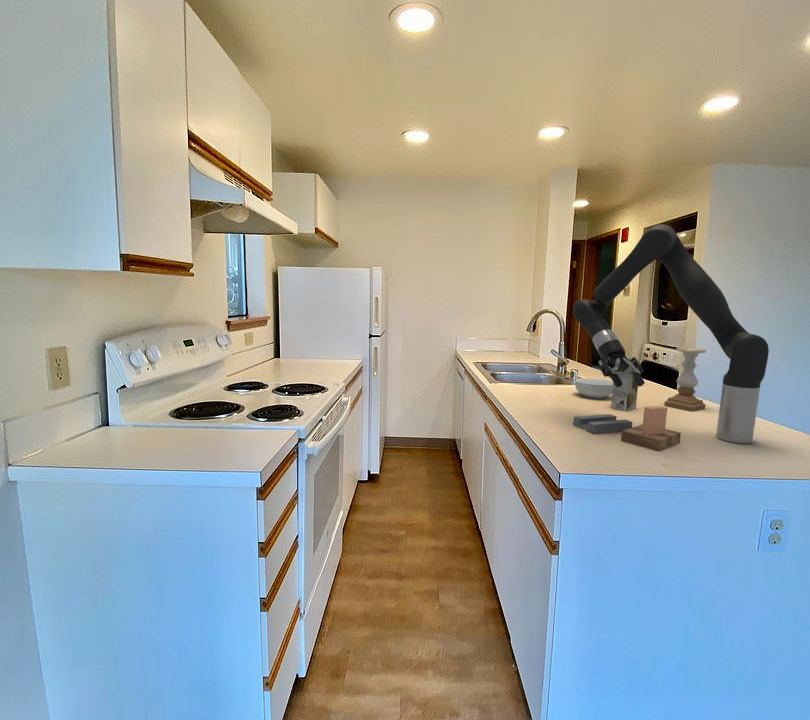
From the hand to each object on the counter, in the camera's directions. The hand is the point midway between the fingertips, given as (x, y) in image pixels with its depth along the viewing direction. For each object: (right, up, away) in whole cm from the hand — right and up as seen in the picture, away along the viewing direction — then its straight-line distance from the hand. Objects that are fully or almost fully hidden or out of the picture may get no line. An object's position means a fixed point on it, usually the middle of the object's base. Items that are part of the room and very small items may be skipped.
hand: (631, 385), depth 140 cm
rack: (-6, -15, +7) cm, 17 cm away
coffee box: (+15, -11, +36) cm, 40 cm away
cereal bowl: (+12, -8, +56) cm, 58 cm away
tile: (+3, -14, -8) cm, 16 cm away
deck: (+3, -17, -6) cm, 18 cm away
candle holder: (+42, -11, +40) cm, 59 cm away
